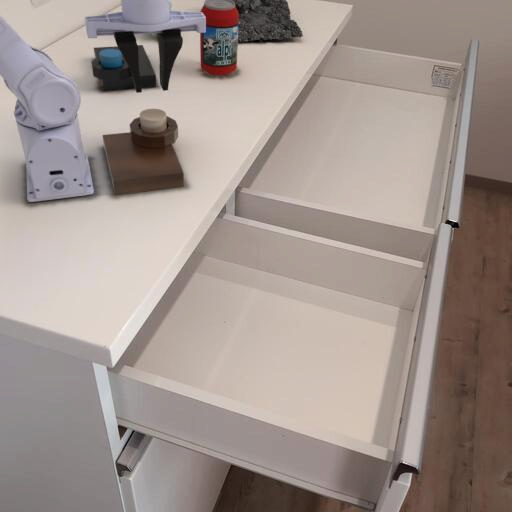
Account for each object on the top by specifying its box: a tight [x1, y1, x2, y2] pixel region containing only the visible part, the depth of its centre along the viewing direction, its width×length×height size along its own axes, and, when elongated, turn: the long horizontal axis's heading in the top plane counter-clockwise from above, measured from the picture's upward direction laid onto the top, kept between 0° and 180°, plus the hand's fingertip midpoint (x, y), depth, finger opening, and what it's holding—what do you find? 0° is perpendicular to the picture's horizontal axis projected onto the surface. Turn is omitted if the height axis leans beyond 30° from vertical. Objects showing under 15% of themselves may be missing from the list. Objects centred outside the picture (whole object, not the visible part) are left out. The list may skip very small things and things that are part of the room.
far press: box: [90, 44, 157, 92], centre depth 96 cm, size 15×10×4 cm, turn 18°
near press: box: [102, 115, 185, 196], centre depth 75 cm, size 13×10×4 cm
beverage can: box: [199, 0, 239, 77], centre depth 98 cm, size 7×7×12 cm
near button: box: [139, 108, 167, 133], centre depth 76 cm, size 4×4×2 cm
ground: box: [232, 0, 304, 43], centre depth 121 cm, size 25×23×5 cm
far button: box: [99, 49, 123, 68], centre depth 91 cm, size 4×4×2 cm
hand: (151, 88), depth 73 cm, fingers open, 3 cm apart
